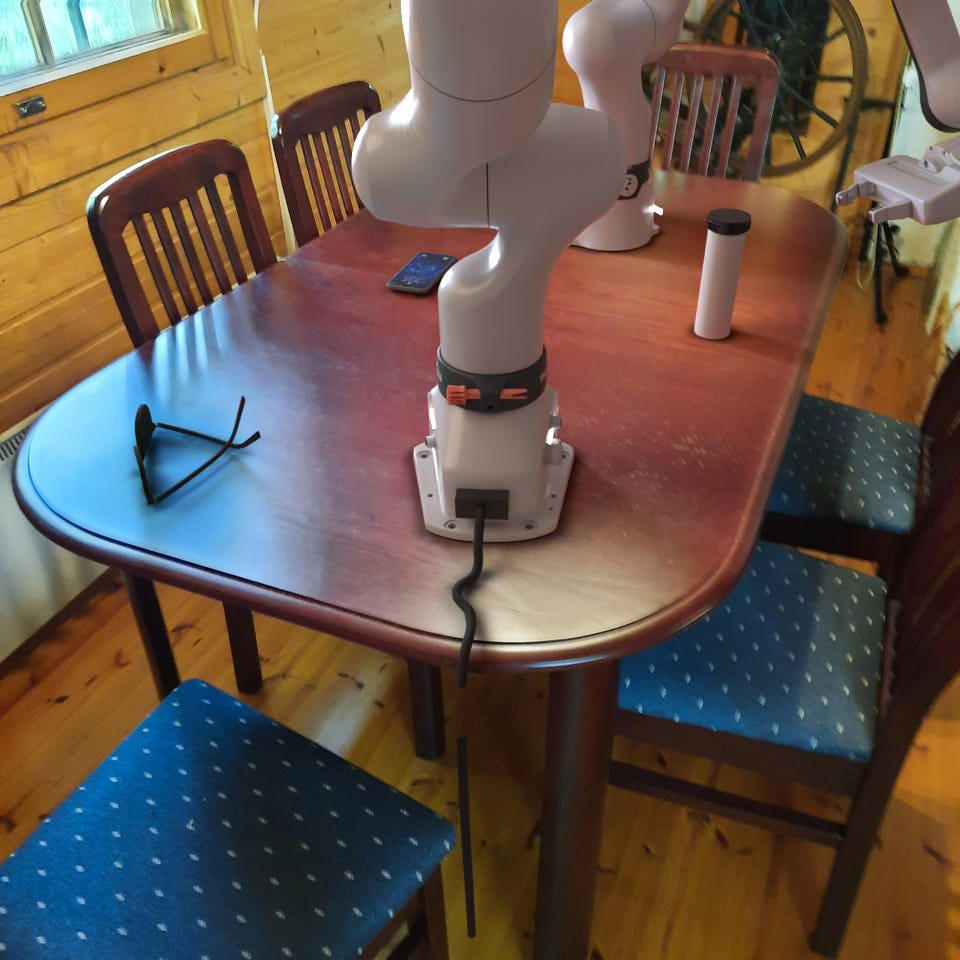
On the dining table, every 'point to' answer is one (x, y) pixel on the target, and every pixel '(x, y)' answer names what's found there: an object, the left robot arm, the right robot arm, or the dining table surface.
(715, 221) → the lid
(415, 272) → the smartphone
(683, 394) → the dining table surface
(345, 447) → the dining table surface
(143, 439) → the sunglasses
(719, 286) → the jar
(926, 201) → the right robot arm
